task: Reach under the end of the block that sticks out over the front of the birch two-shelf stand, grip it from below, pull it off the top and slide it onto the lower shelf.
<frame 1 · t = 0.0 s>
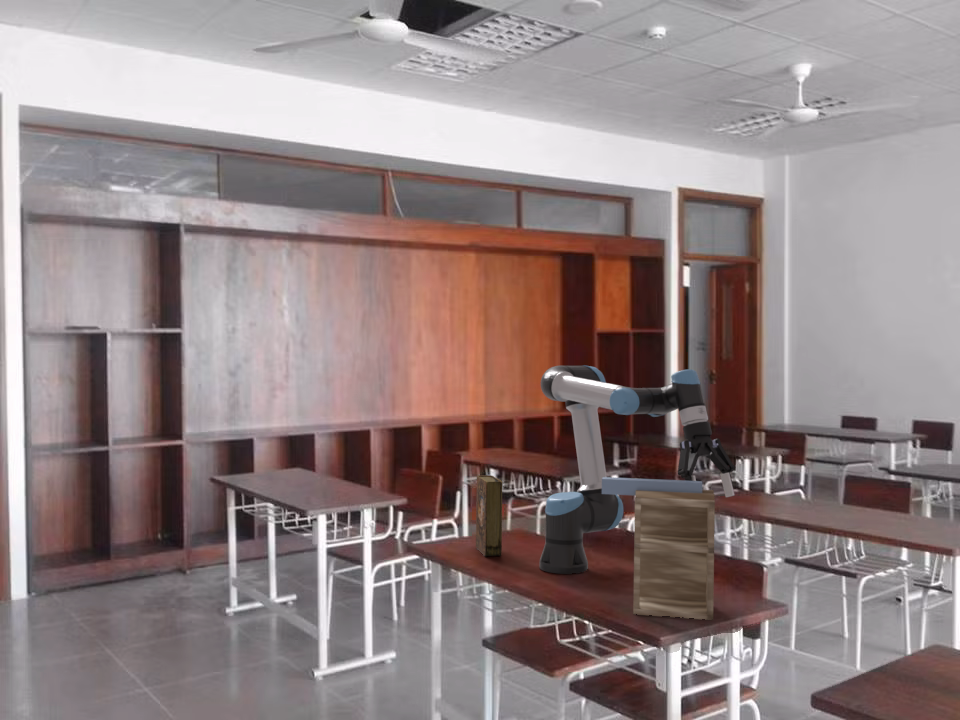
hand: (713, 498, 247), 28 cm above the table, tool tilted 20°, fingers open, 13 cm apart
shelf stand: (673, 609, 236), on the table
book: (487, 552, 303), on the table
block: (651, 495, 237), point 30 cm above the table, touching shelf stand
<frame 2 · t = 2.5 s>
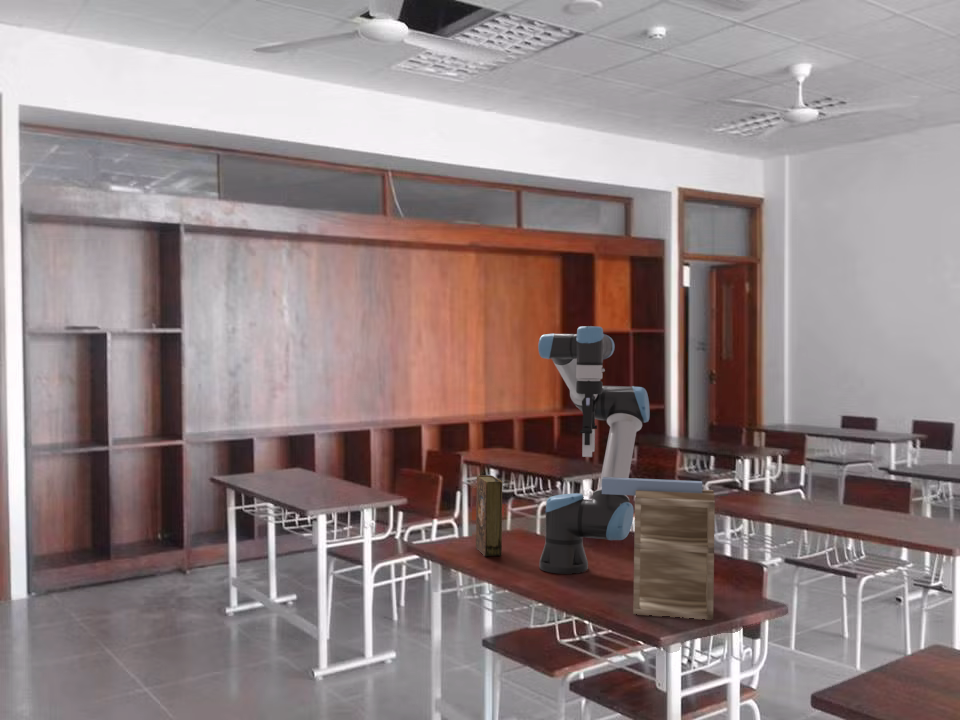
hand: (588, 454, 257), 39 cm above the table, tool pointing down, fingers open, 13 cm apart
nothing on the table moved.
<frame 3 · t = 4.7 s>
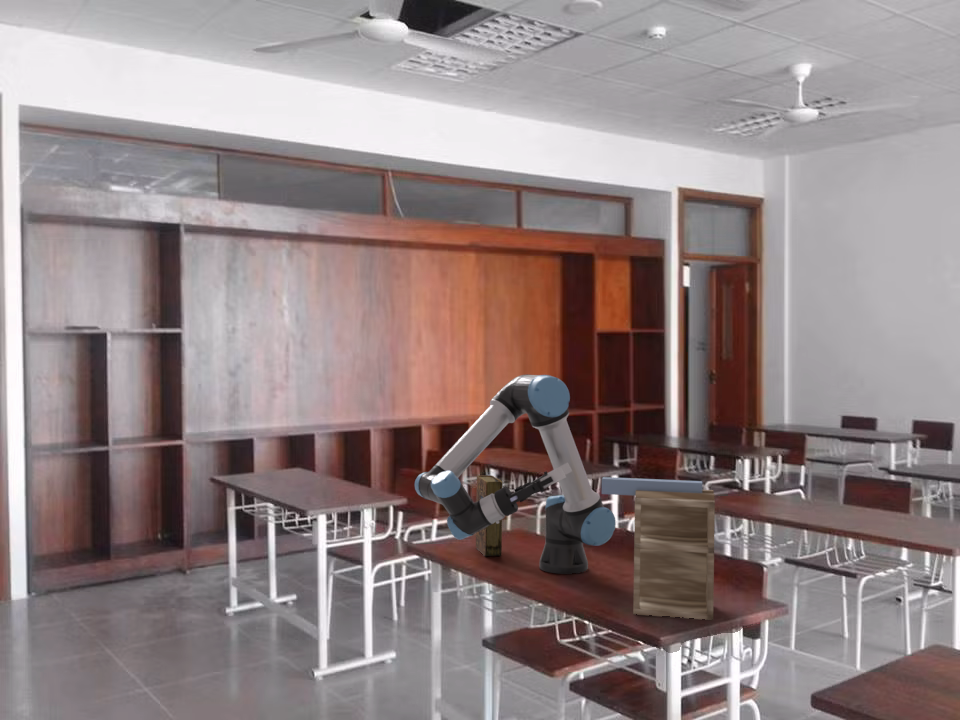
hand: (566, 469, 244), 36 cm above the table, tool pointing upward, fingers open, 13 cm apart
nothing on the table moved.
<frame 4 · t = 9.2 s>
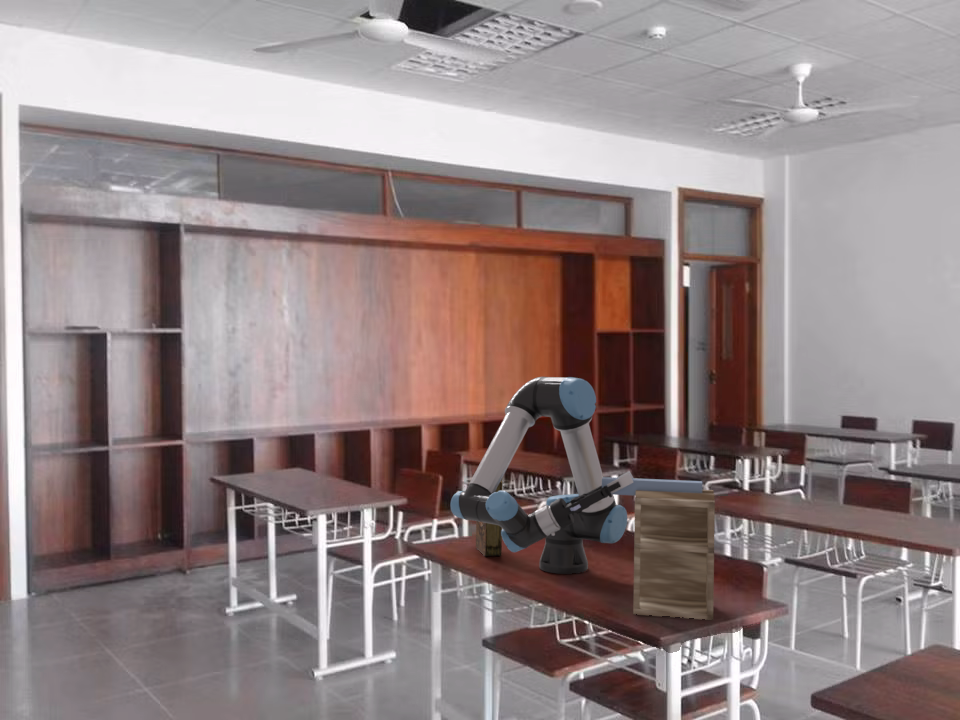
hand: (631, 476, 238), 35 cm above the table, tool pointing upward, fingers closed on block, 4 cm apart
block: (651, 495, 237), point 30 cm above the table, touching gripper, shelf stand
everything else where it was.
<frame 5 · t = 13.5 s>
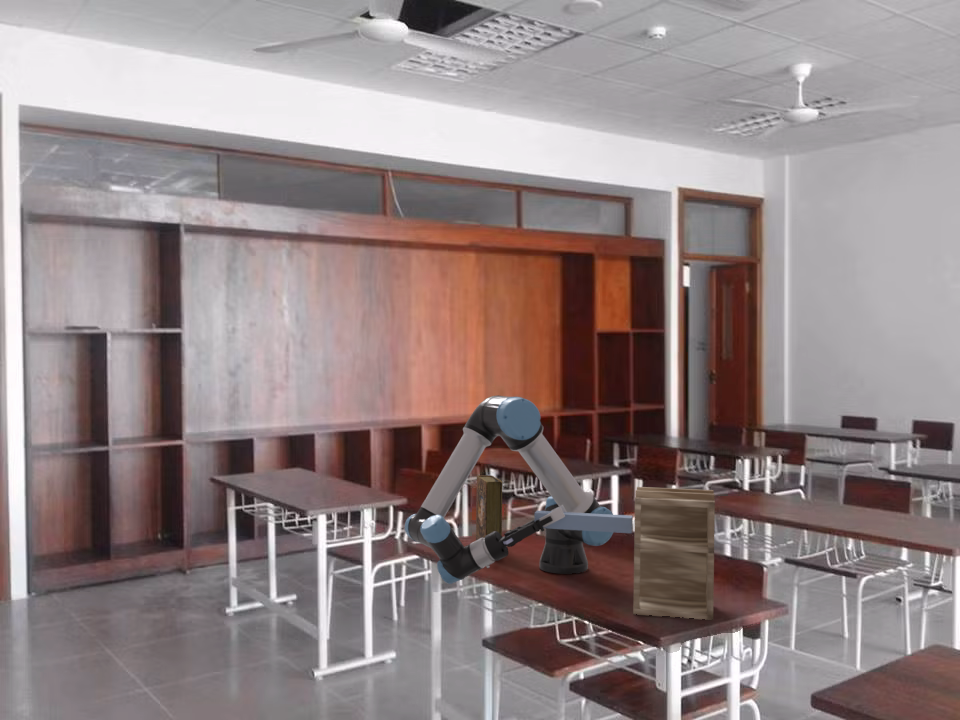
hand: (563, 510, 242), 25 cm above the table, tool pointing upward, fingers closed on block, 4 cm apart
block: (583, 529, 241), point 20 cm above the table, touching gripper
everything else where it was.
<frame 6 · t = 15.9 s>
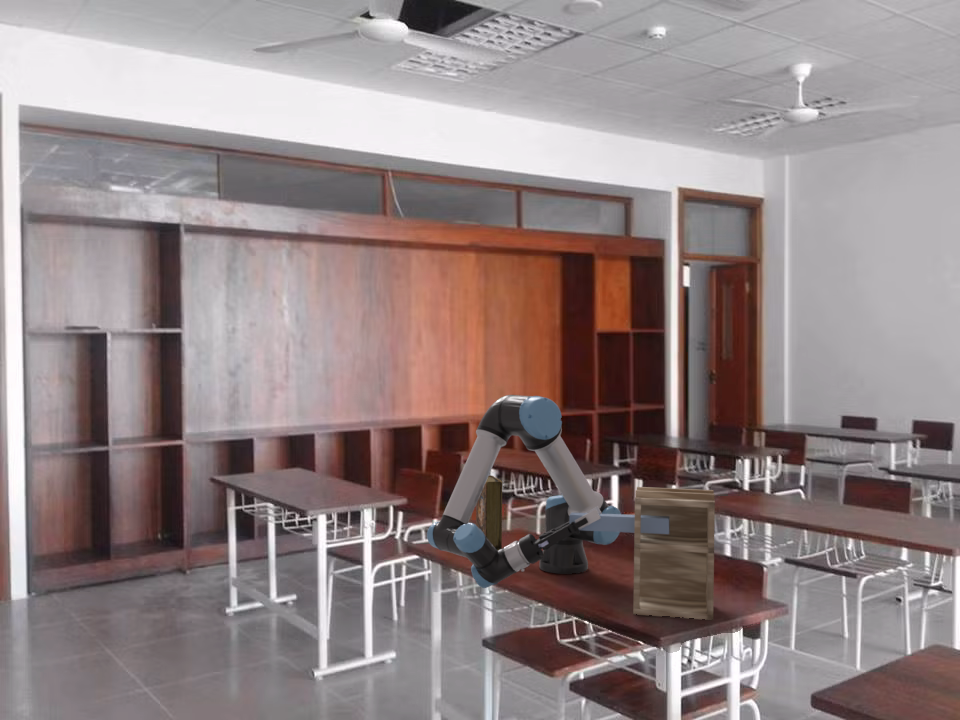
hand: (599, 512, 239), 25 cm above the table, tool pointing upward, fingers closed on block, 4 cm apart
block: (619, 530, 238), point 20 cm above the table, touching gripper
everything else where it was.
when the fingers open (25 cm above the table, at t = 18.1 s): block drops 1 cm, resting on shelf stand.
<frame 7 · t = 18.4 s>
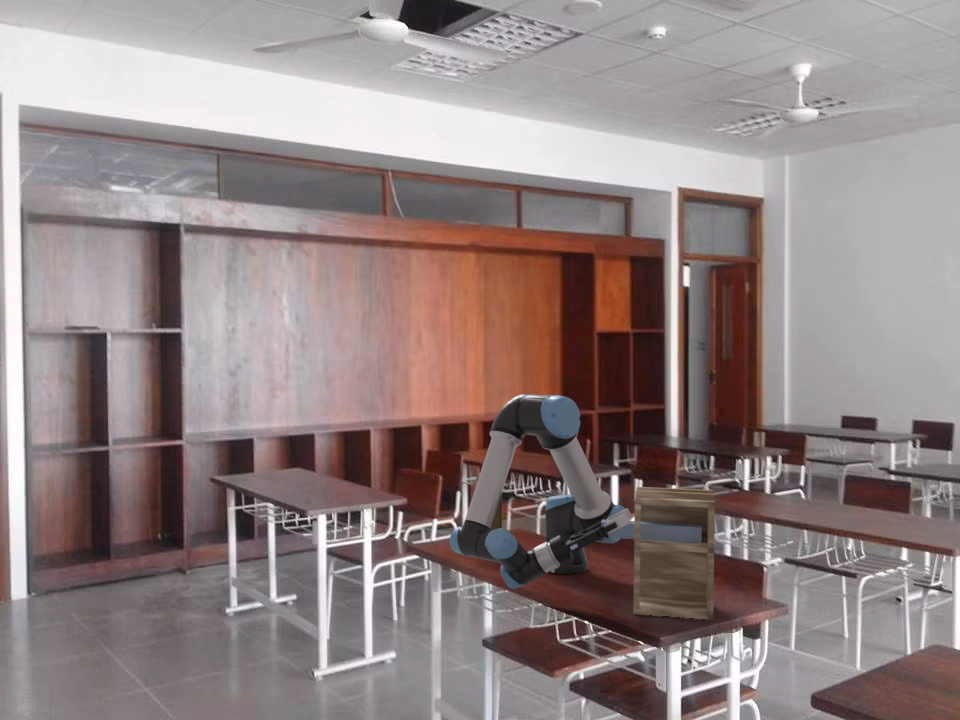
hand: (628, 515, 238), 24 cm above the table, tool pointing upward, fingers open, 8 cm apart
block: (650, 538, 237), point 18 cm above the table, touching shelf stand
everything else where it was.
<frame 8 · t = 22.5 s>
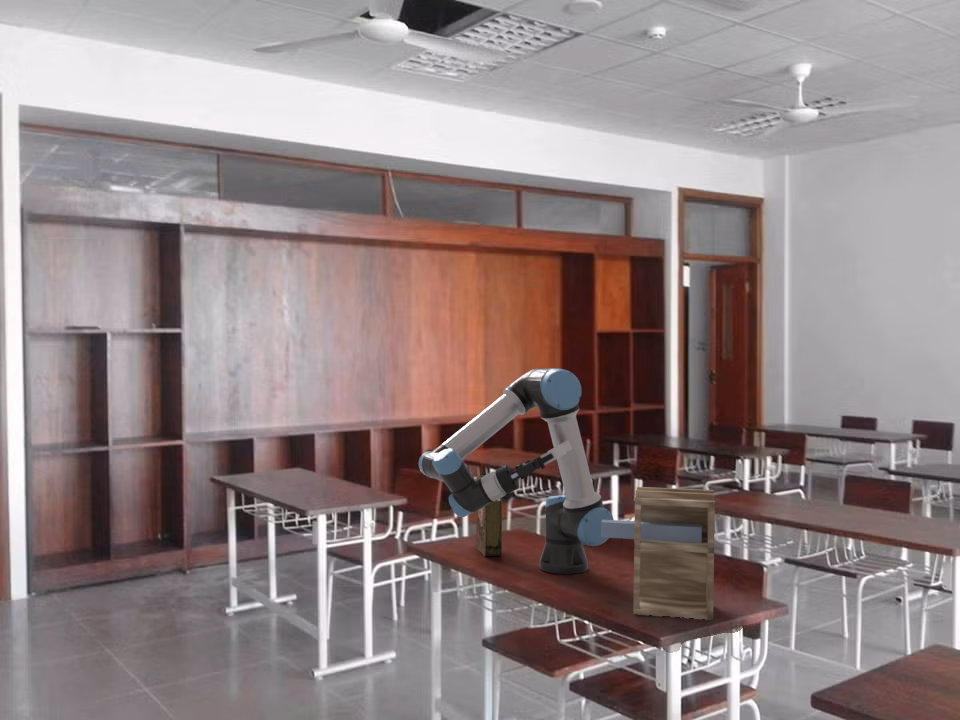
hand: (567, 446, 246), 42 cm above the table, tool pointing upward, fingers open, 13 cm apart
nothing on the table moved.
at the end: block inside the target area on the shelf stand (0.5 cm from its centre), point 18.5 cm above the shelf stand's base; block tilted 0°; the gripper is holding nothing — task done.
